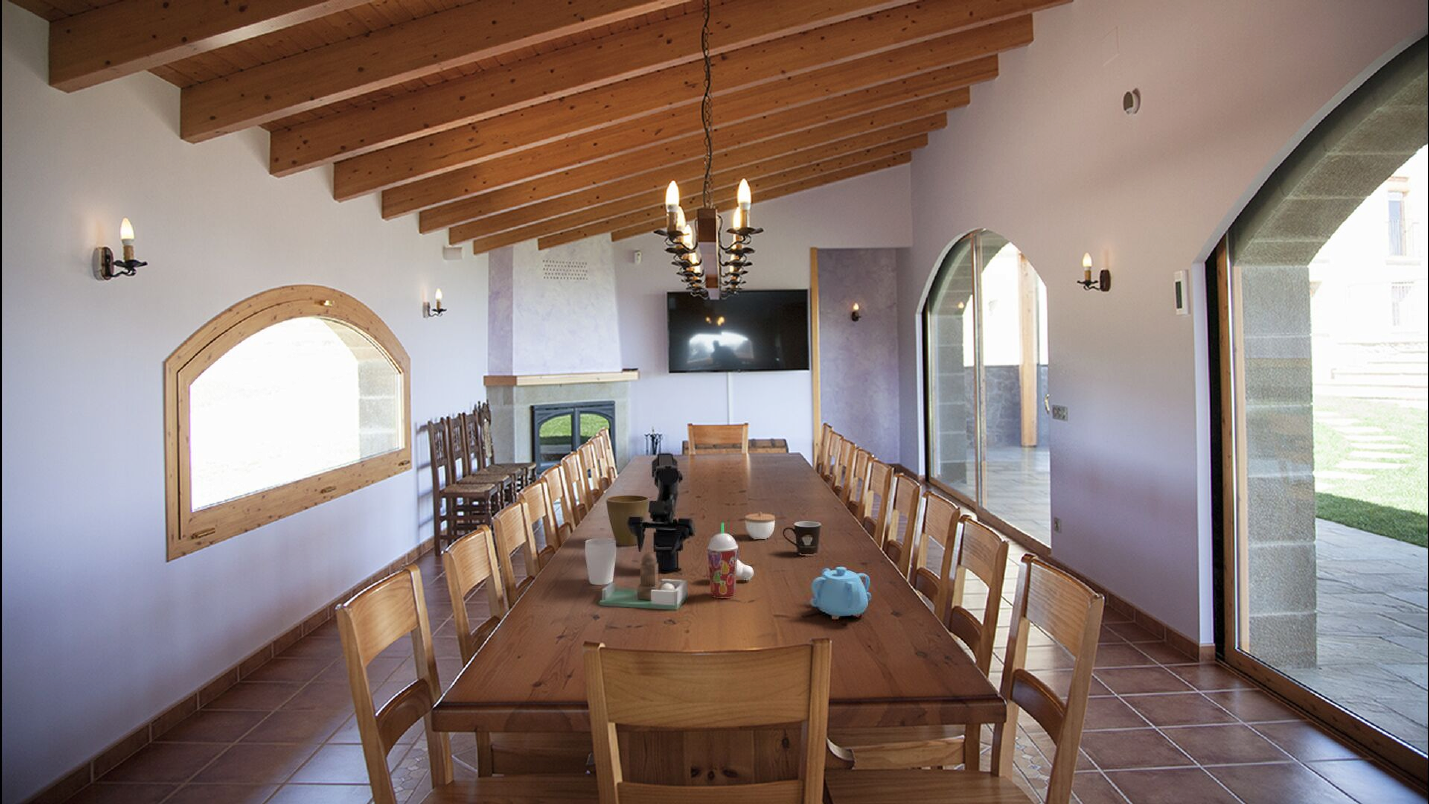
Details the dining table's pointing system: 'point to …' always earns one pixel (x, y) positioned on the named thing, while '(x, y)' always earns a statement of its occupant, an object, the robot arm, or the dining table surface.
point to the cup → (600, 560)
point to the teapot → (841, 592)
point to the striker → (648, 577)
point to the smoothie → (722, 564)
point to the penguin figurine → (744, 571)
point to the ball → (668, 587)
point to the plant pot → (625, 516)
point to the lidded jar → (760, 525)
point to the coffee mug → (806, 536)
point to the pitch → (658, 599)
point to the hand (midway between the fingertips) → (655, 552)
